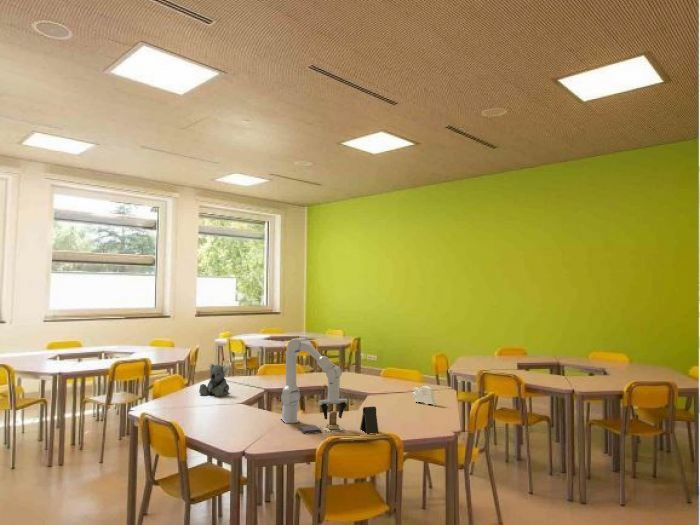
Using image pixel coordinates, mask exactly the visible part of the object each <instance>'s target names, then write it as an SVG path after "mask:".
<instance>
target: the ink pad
mask: <svg viewBox="0 0 700 525" xmlns="http://www.w3.org/2000/svg"><path fill="white" fill-rule="evenodd" d="M298 430H299V431H300V432H301V433H302V434H303V435H305V434H306V433H309V434H316V433H315V432H320V433H322V429H320V428H319V427H318V426H317V425H305V426H298ZM306 435H307V434H306Z"/></svg>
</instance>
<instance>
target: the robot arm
mask: <svg viewBox="0 0 700 525" xmlns="http://www.w3.org/2000/svg"><path fill="white" fill-rule="evenodd" d="M300 352H306V353H308V355H309V356H311V357H312V358H313V359H315V361H316V362H317V366H319V367H320V368H321V369H322V371H323V372H325V375H326V378H327V399H320V400H318V405H320V407H321V409H322V413H323V418H324V420H328V409H329V406H328V405H334V404H338V418H339V419H342V417H343V414H344V412H345V411H344V410H345V409H346V407H347V404H348V398H340V380H341V379H340V378H341V376H342V375H343V374H342V373H343V370H342V368H341V367H340V366H338V365H336V364H335V363H333V362H332V361H331V360H330V358H329V356H325V355H322V354H321V353H320V352H319V351H318V350H317V349H316V348H315V346H314V345H312V343H311V341H310V340H308V338H307V337H304V336H303V337H297V338H292V339H290V340H289V341H288V342H287V347H286V351H285V386H284V387H283V389H282V393H281V395H280V400H281V403H282V407H281V409H282V410H281V417H280V418H281V419H283V421H284V422H285V423H284V422H283V421H282V422H283V423H284V424H294V423H295V424H296V423H300V420H298V404H299V401H300V400H301V394H300V388H299V387H298V385H297V356H298V354H300ZM281 419H280V420H281Z"/></svg>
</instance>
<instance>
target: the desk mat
mask: <svg viewBox="0 0 700 525" xmlns="http://www.w3.org/2000/svg"><path fill="white" fill-rule="evenodd" d="M322 427H323V428H324V427H325V429H326V428H327V425H325V426H322ZM343 430H346V429H345V428H343V427H342V426H341V425H339V429H338V430H330V432H329V433H333V432H332V431H335V432H344V431H343ZM327 431H328V430H327V429H326V431H325V432H326V433H328V432H327Z"/></svg>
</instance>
